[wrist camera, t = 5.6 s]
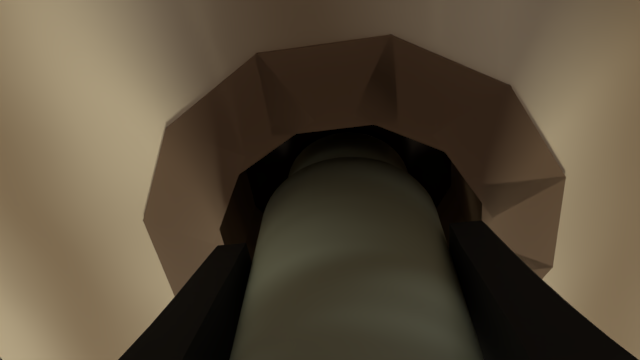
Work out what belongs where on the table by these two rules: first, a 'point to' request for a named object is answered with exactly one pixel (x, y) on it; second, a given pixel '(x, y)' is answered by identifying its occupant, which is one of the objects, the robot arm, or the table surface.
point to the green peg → (352, 265)
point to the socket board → (293, 118)
